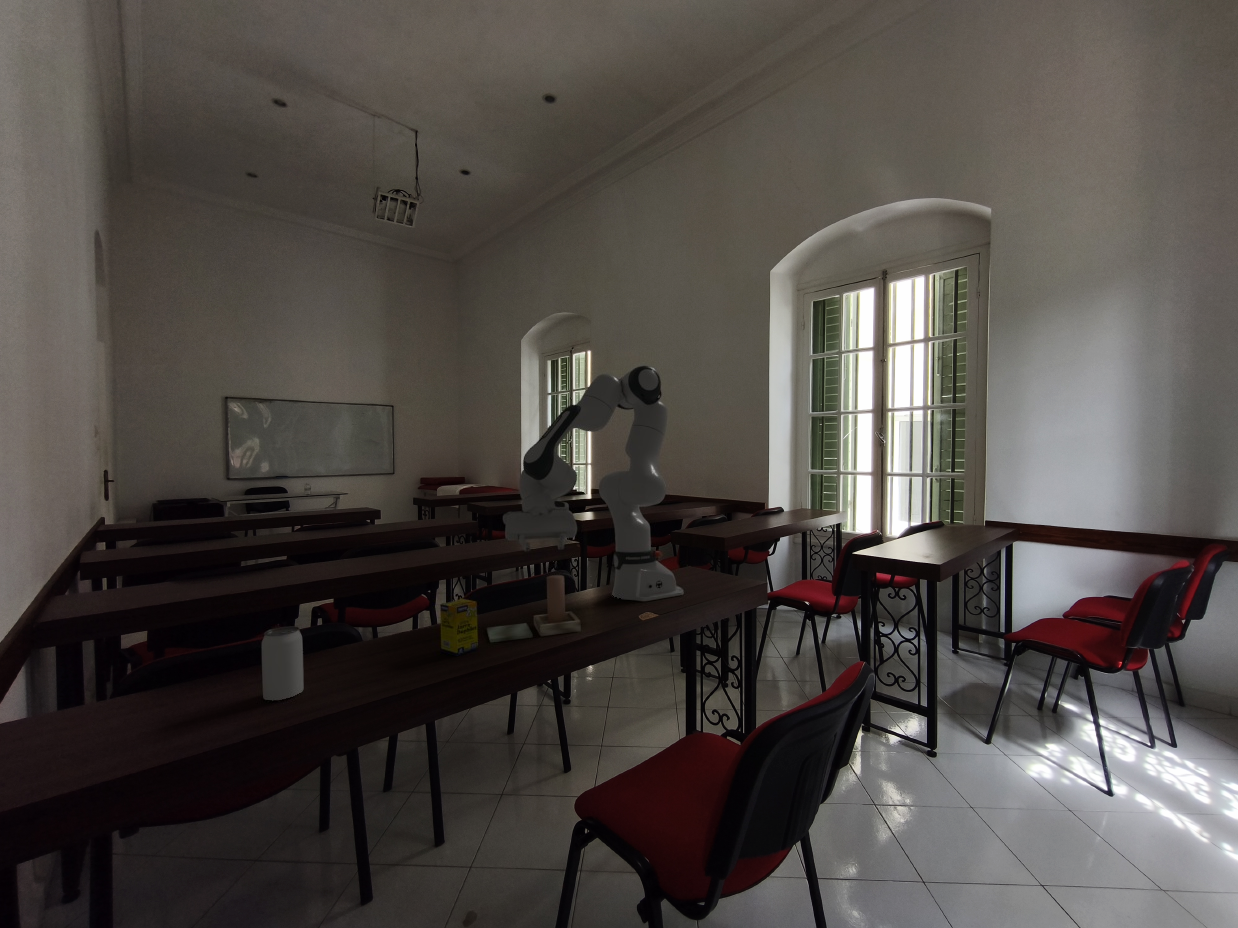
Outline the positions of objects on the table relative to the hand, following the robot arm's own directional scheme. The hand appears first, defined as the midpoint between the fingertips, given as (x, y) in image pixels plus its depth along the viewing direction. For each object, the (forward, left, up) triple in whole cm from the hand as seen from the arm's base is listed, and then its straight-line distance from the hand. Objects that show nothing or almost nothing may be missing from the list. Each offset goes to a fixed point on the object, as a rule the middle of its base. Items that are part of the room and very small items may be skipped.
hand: (544, 548), depth 152 cm
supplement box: (+24, +20, -19) cm, 37 cm away
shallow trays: (+6, +12, -18) cm, 23 cm away
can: (+56, +33, -19) cm, 68 cm away
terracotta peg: (0, +12, -19) cm, 22 cm away
